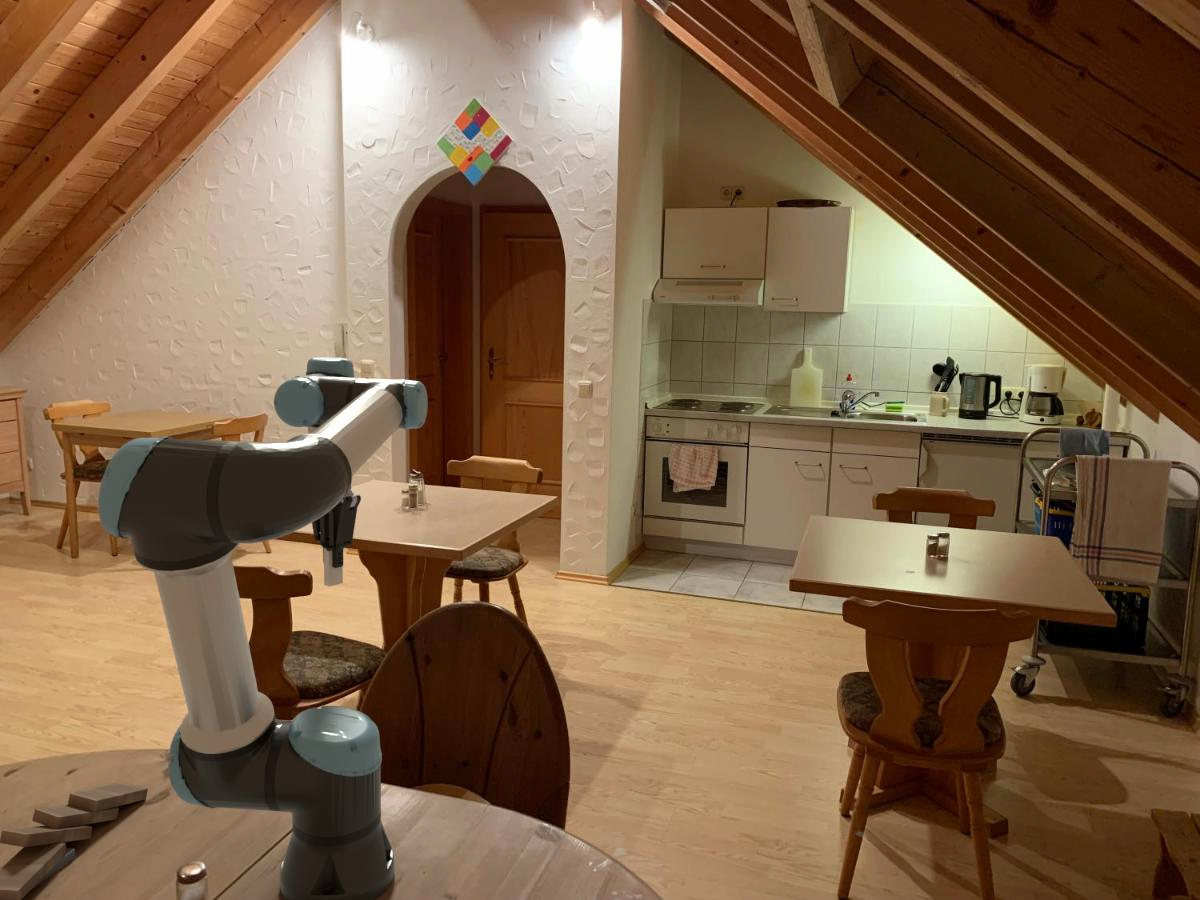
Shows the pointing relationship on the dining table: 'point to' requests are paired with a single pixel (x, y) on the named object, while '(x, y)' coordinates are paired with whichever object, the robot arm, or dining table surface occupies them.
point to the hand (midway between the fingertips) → (333, 583)
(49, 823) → the domino
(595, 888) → the dining table surface
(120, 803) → the domino
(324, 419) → the robot arm
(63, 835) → the domino
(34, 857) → the domino
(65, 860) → the domino
